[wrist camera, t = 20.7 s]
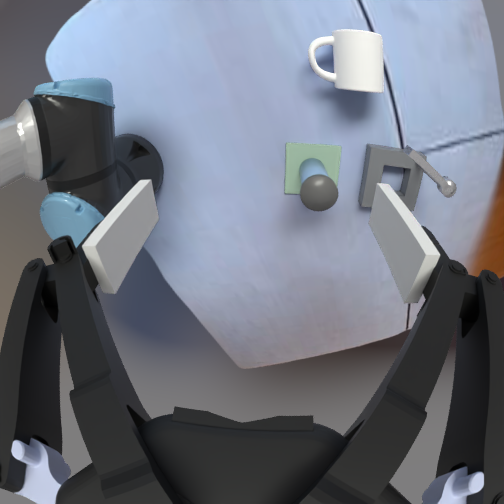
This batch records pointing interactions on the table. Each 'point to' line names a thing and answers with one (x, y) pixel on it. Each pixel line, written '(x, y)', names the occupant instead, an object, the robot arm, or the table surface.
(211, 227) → the table surface
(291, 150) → the mat
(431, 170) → the lever
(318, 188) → the plug
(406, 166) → the socket
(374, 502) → the robot arm
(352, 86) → the mug
